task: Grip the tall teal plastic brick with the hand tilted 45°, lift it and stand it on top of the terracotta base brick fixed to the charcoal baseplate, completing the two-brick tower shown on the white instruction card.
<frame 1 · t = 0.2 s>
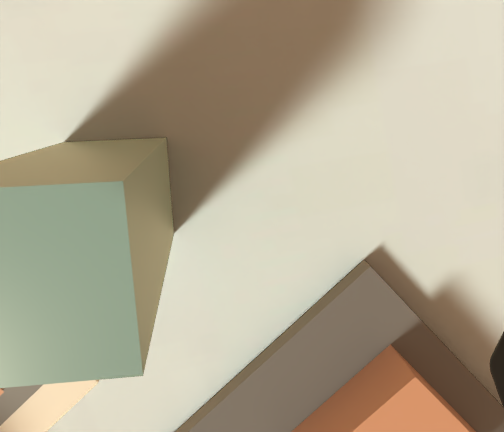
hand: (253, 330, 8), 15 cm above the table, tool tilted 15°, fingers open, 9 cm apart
tall brick: (120, 189, 22), on the table
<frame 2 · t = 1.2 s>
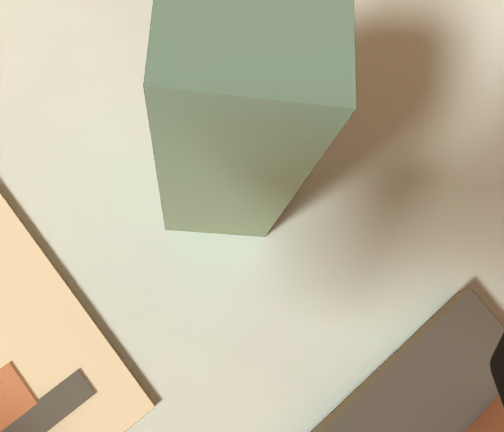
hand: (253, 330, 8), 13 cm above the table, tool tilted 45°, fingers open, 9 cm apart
tall brick: (218, 186, 23), on the table
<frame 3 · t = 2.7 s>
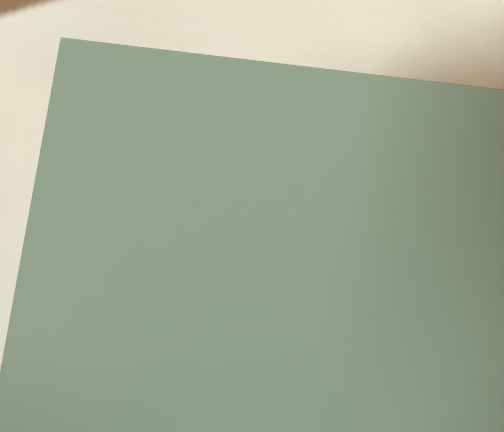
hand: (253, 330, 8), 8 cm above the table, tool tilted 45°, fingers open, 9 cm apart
tall brick: (219, 353, 15), on the table
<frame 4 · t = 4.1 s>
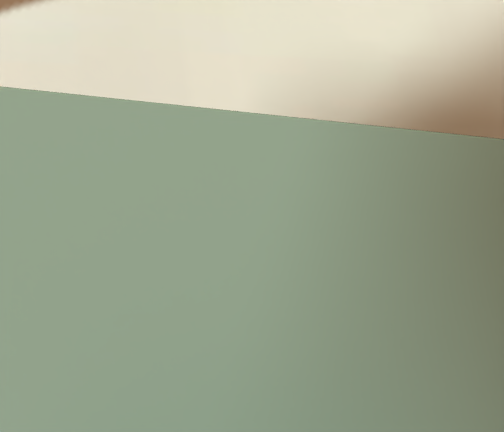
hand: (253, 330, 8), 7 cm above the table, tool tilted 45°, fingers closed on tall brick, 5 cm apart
tall brick: (219, 388, 14), on the table, touching gripper
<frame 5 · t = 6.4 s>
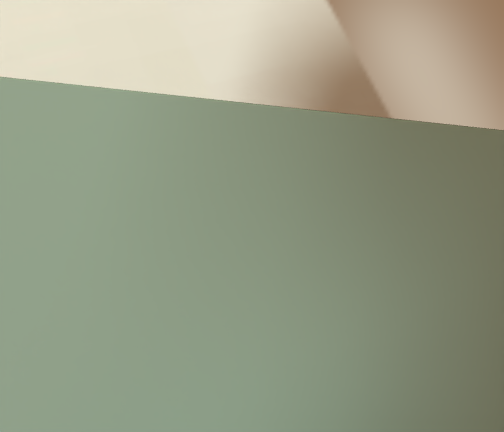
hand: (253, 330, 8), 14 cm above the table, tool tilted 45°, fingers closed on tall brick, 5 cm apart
tall brick: (219, 386, 14), point 7 cm above the table, touching gripper
when the fingers open (11 cm above the table, at t = 8.6 s): tall brick stays where it is, resting on baseplate.
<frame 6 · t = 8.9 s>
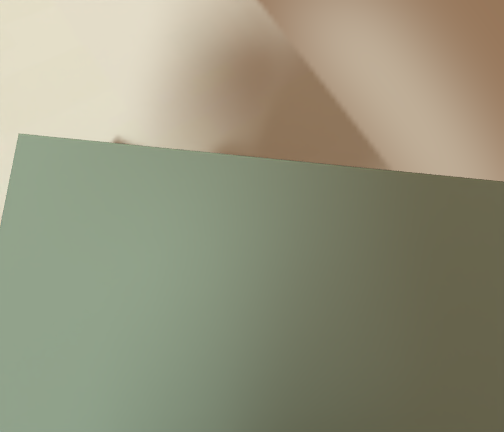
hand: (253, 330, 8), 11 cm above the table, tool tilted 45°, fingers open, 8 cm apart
tall brick: (217, 385, 15), point 4 cm above the table, touching baseplate
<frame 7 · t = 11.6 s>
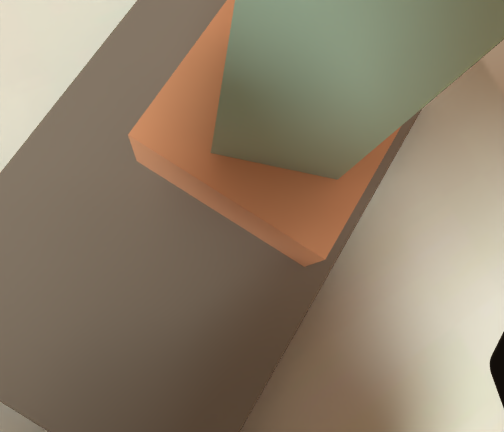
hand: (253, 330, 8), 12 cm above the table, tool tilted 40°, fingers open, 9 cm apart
baseplate: (189, 199, 20), on the table
tall brick: (285, 106, 17), point 4 cm above the table, touching baseplate
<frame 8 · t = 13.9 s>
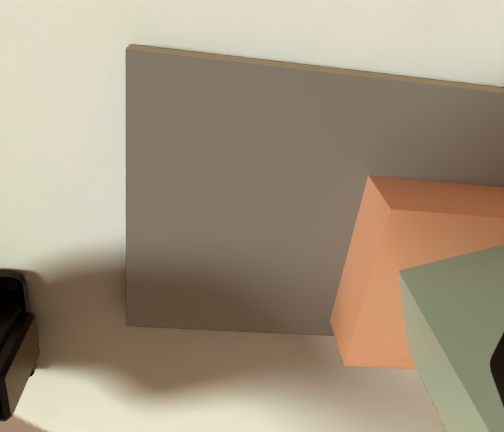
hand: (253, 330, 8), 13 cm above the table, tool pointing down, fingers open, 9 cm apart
baseplate: (349, 215, 22), on the table
tall brick: (457, 300, 20), point 4 cm above the table, touching baseplate
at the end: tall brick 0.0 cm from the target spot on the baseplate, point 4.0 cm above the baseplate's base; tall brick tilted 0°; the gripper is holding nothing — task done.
